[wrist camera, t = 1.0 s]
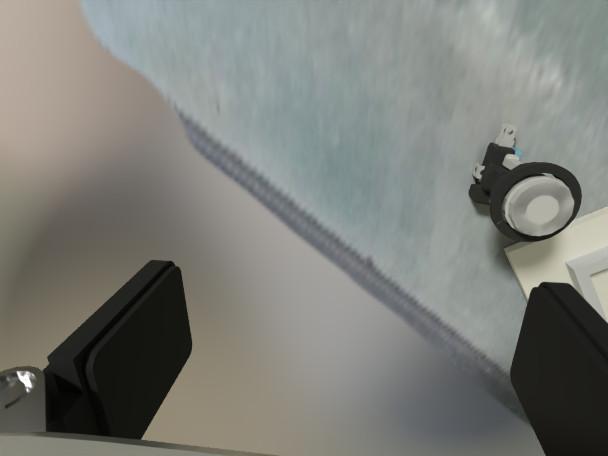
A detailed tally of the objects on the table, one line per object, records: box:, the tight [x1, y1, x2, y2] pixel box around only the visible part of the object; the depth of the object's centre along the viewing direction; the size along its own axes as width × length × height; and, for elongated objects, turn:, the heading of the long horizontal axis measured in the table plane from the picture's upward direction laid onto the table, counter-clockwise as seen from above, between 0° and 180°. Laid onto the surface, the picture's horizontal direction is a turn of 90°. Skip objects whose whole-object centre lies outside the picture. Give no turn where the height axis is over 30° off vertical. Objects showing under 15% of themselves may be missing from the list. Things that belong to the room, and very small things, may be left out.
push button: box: [469, 123, 582, 242], centre depth 28 cm, size 7×5×10 cm
